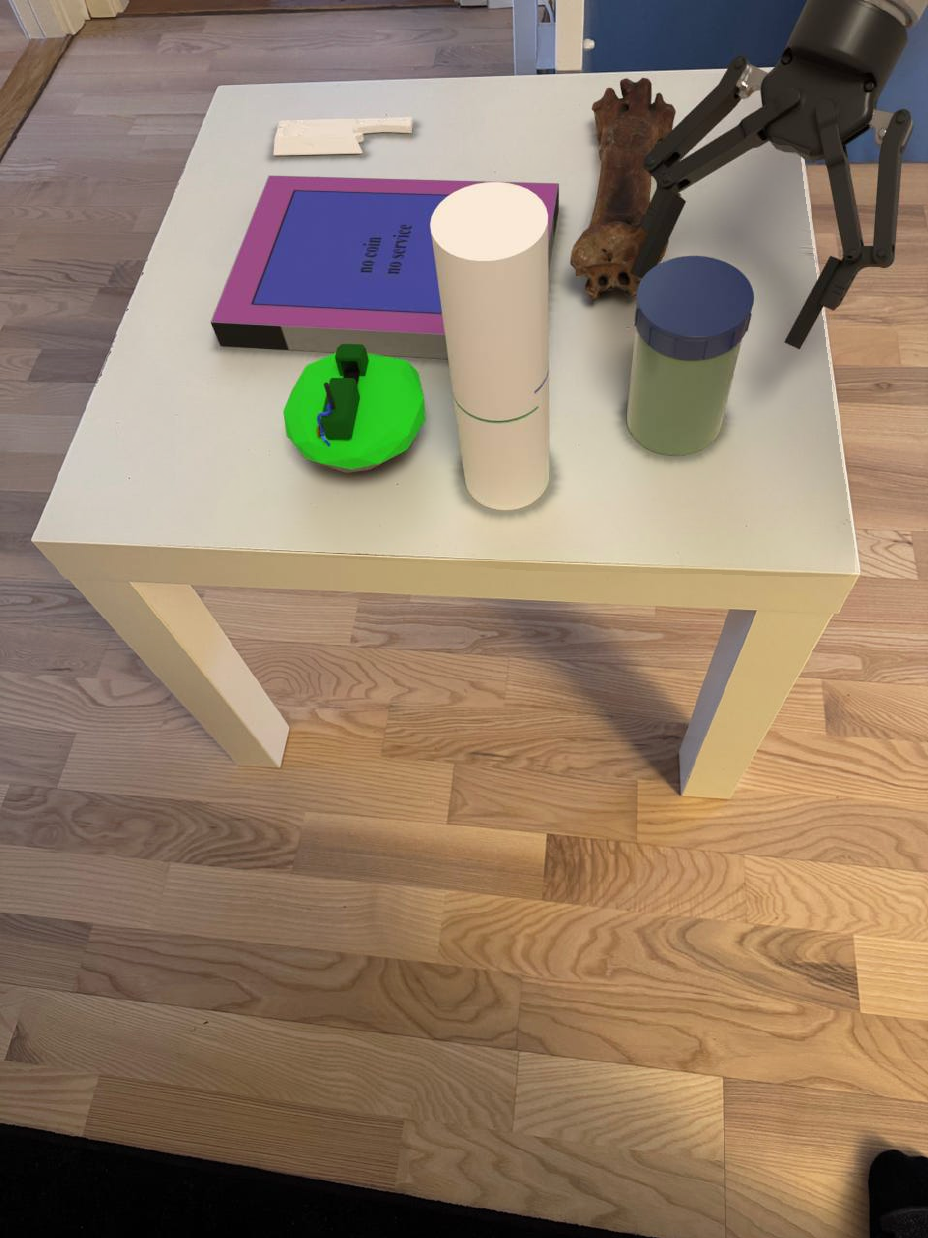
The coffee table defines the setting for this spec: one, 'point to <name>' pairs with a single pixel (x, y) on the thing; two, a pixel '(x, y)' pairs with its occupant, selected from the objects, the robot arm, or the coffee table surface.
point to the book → (344, 266)
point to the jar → (677, 399)
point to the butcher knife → (332, 134)
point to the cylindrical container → (497, 336)
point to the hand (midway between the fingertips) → (712, 311)
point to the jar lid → (693, 307)
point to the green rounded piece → (355, 409)
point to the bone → (621, 186)
